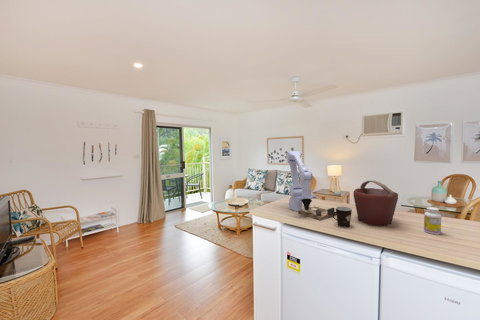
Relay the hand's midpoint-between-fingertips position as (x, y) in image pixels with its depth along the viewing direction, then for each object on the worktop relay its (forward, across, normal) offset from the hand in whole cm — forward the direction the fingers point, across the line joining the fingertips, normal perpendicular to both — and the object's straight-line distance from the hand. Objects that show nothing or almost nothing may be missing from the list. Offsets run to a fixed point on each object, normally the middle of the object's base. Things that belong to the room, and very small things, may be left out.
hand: (306, 209), depth 143 cm
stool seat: (+4, +9, 0) cm, 10 cm away
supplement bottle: (+5, +43, -48) cm, 65 cm away
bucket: (+5, +30, -25) cm, 39 cm away
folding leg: (+2, +3, 0) cm, 3 cm away
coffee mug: (+5, +8, -22) cm, 24 cm away
